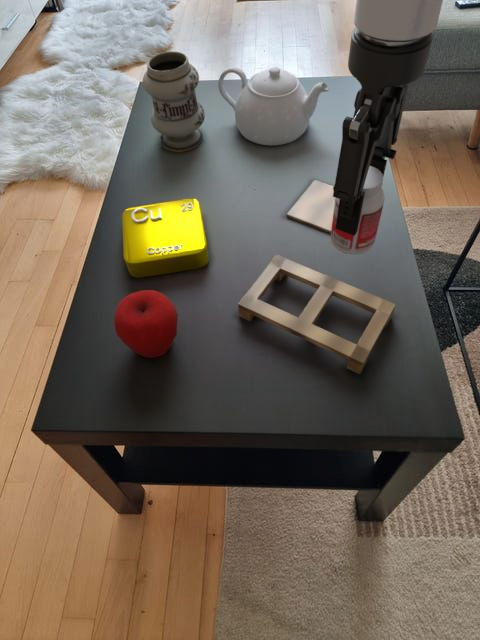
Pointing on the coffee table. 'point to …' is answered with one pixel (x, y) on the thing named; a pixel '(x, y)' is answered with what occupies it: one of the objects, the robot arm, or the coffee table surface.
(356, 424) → the coffee table surface
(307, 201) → the brown flat square
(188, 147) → the apothecary jar
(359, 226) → the pill bottle
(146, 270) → the element tile
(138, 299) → the apple
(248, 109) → the teapot
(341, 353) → the bottle rack
